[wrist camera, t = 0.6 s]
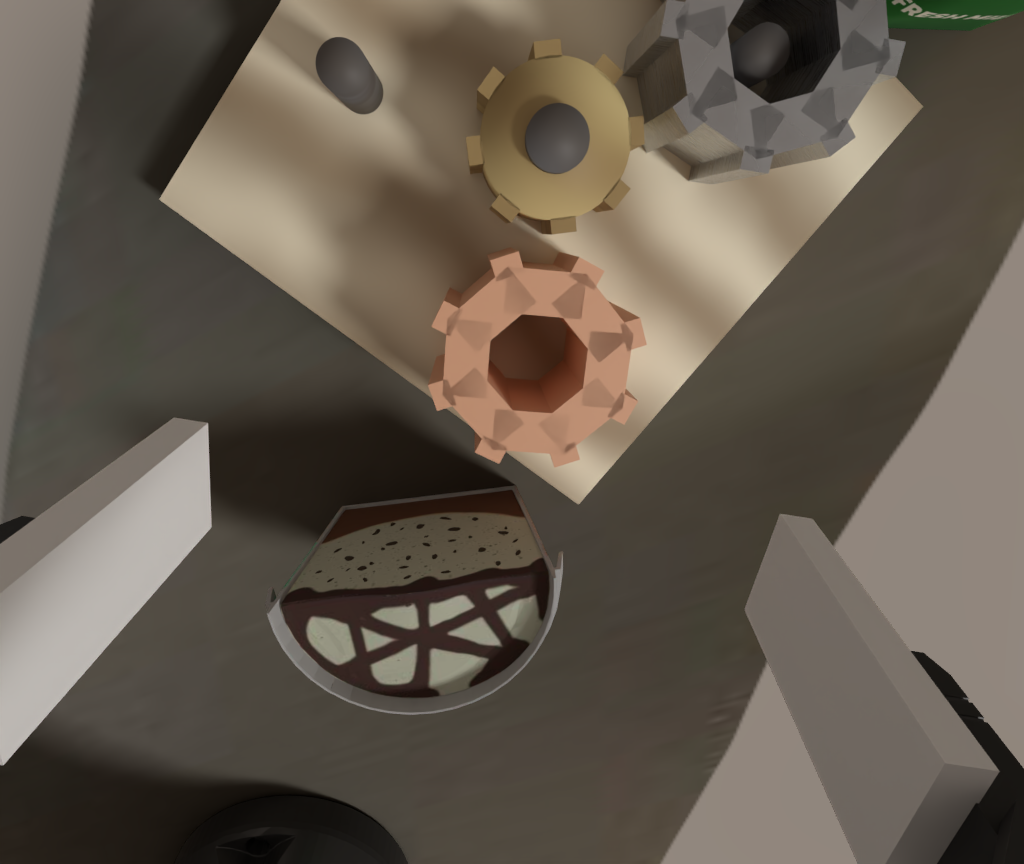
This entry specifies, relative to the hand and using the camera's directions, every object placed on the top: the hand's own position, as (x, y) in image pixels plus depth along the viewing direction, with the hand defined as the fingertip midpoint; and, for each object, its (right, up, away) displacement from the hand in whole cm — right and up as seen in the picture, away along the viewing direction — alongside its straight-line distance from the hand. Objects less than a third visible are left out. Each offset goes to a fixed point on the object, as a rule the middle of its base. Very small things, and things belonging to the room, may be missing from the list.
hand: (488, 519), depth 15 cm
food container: (-4, -4, +21) cm, 22 cm away
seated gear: (+10, +17, +13) cm, 24 cm away
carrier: (+2, +15, +15) cm, 21 cm away
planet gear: (+1, +6, +16) cm, 17 cm away
